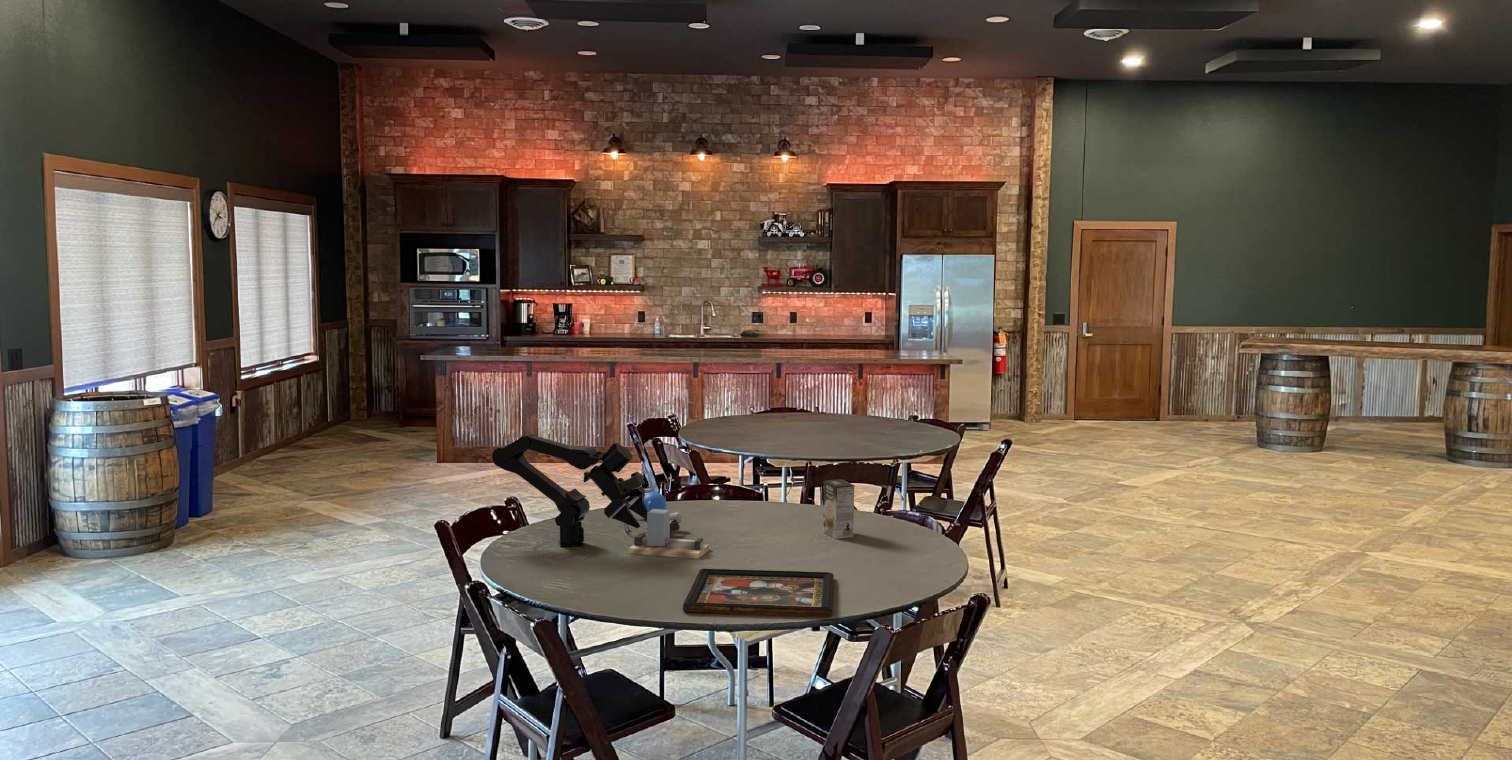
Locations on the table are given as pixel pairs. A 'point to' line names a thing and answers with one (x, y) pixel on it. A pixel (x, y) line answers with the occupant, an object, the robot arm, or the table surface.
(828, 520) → the coffee box
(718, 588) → the framed painting
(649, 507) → the blue mole toy
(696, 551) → the rail
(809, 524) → the table surface
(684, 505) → the table surface
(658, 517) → the pale blue rectangular block
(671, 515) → the clip-on lamp
